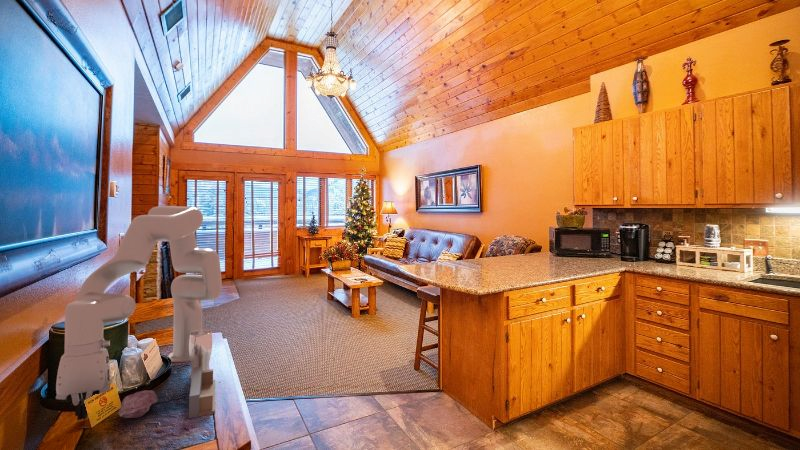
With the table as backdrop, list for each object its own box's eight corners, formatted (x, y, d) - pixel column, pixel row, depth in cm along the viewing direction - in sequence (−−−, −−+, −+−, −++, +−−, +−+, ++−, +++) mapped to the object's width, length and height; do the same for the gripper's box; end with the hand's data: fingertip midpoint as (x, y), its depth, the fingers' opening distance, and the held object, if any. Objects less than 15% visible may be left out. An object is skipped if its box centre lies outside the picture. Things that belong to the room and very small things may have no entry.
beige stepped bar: (193, 386, 112) (193, 367, 112) (215, 382, 115) (215, 364, 115) (188, 418, 95) (189, 396, 95) (214, 413, 98) (215, 391, 98)
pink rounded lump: (111, 428, 90) (111, 408, 90) (128, 401, 103) (128, 384, 103) (149, 421, 93) (149, 401, 93) (161, 396, 106) (161, 379, 106)
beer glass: (198, 382, 115) (199, 337, 115) (183, 378, 117) (184, 334, 117) (216, 373, 121) (217, 330, 121) (201, 370, 124) (202, 328, 124)
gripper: (123, 339, 99) (122, 403, 99) (52, 347, 92) (51, 416, 92) (116, 348, 92) (115, 417, 92) (39, 357, 85) (38, 432, 85)
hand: (83, 416), depth 92 cm, fingers closed
